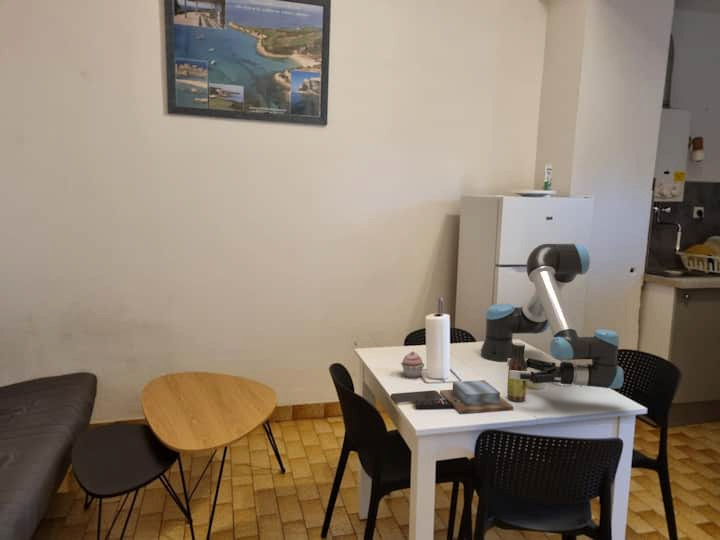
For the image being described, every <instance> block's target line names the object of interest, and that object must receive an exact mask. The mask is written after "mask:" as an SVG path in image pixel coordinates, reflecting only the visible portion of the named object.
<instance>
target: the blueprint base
mask: <svg viewBox="0 0 720 540" xmlns="http://www.w3.org/2000/svg"><path fill="white" fill-rule="evenodd" d="M439 394H440V396H442V397H443V398H444V399H445V400H446V399H447V400H449V401H451V402H452V404H453V406H454V407H453V406H452V407H453V408H454V410H455V411H456V412H457V413H458V414H459V415H464V414H465V415H466V414H479V413H493V412H502V411H503V412H504V411H507V412H508V411H513V410H514V405H512V404H511V403H509V402H508V401H507V400H506V399H505V398H503V397H502V396H501V392H500V391H499V390H497V388H495V387H494V386H493V385H492V384H490V383H488V382H487V381H486V380H484V379H482V380H468V381H467V380H466V381H465V380H464V381H452V389H442V390H439ZM447 400H446V401H447ZM454 400H461V401H462V403H461V402H460V403H458V402H454Z"/></svg>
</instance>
